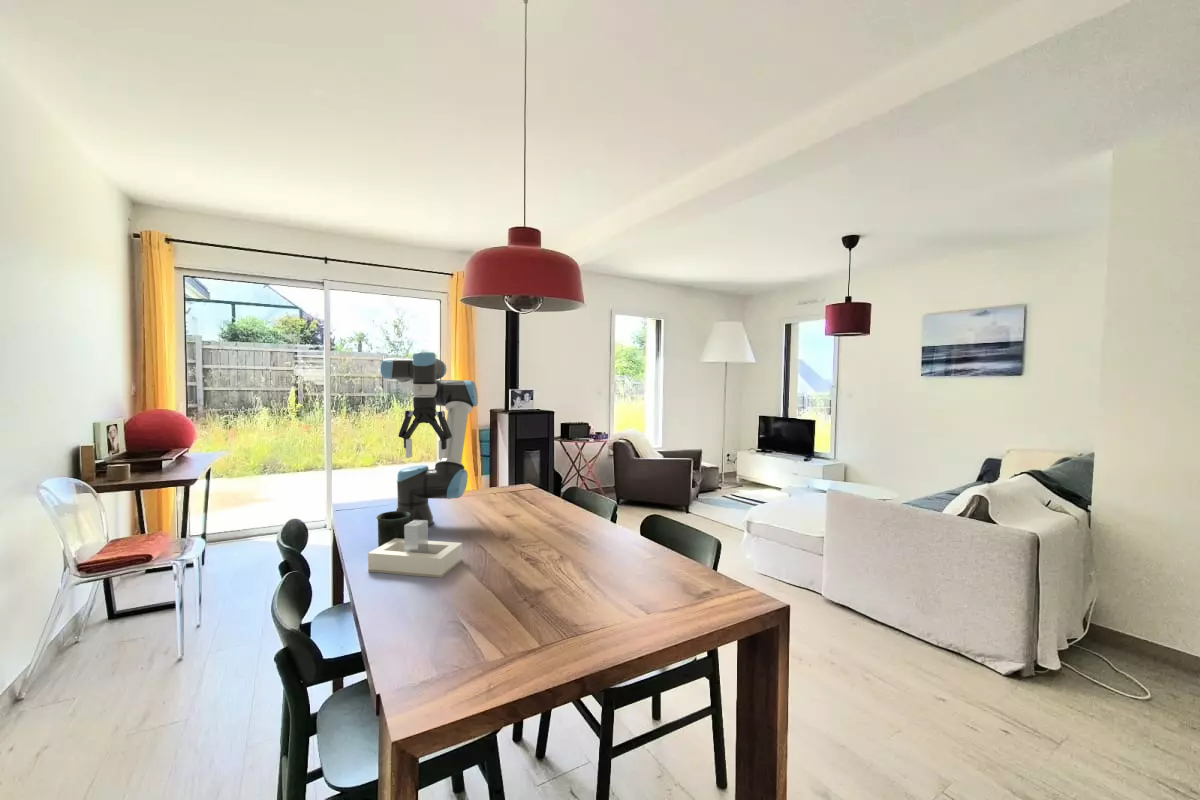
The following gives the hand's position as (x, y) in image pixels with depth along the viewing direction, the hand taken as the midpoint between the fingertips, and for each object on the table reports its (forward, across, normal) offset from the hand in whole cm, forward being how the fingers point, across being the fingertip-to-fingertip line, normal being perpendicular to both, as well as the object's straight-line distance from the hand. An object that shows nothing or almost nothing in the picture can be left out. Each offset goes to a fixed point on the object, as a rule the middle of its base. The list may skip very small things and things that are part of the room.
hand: (425, 458), depth 172 cm
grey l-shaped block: (+30, +9, -18) cm, 37 cm away
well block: (+31, +7, -18) cm, 37 cm away
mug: (+31, -10, -5) cm, 33 cm away
